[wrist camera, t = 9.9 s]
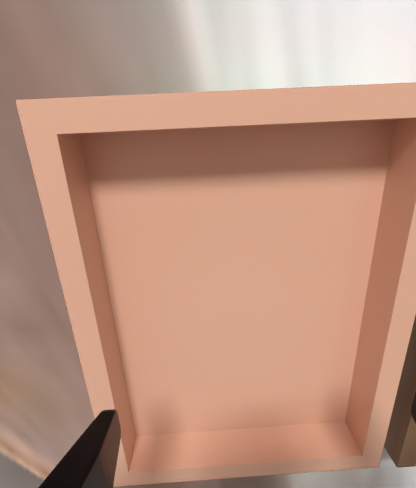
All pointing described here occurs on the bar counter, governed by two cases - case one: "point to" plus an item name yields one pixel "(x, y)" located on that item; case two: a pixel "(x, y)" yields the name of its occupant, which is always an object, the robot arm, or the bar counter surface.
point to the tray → (235, 270)
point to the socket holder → (404, 412)
